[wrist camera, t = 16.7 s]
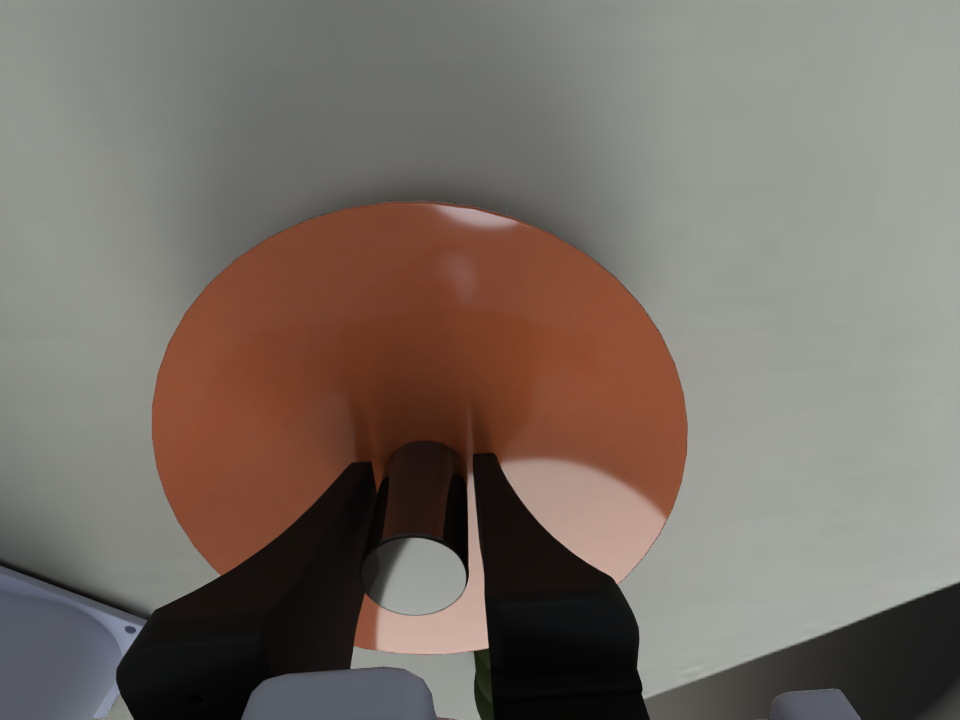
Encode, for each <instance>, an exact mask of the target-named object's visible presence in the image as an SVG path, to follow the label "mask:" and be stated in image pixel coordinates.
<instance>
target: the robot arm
mask: <svg viewBox="0 0 960 720" xmlns="http://www.w3.org/2000/svg"><path fill="white" fill-rule="evenodd" d="M473 476H474V488H475V500H476V512H477V524H478V535H479V543H480V550H481V557H482V563H483V570H484V597H485V609H486V621H487V633H488V645H489V657H490V669H491V688H492V703H493V713H494V720H650V719H649V716H648V713H647V710H646V706H645V703H644V700H643V697H642V694H641V693H642V689H643V688H642V683H641V680H640V677H639V674H638V671H637V661H638V649H639V629H638V625H637V622H636V619H635V617H634V614H633V612H632V610H631V608H630V606H629V604H628V602H627V600H626V599H625V597H624V595H623V593H622V592H621V590H620V588H619V587H618V585H617V583H616V582H615V580H614V579H613V578H612V577H611V576H609V575H607V574H606V573H604V572H602V571H600V570H599V569H597V568H595V567H594V566H592V565H590V564H588V563H587V562H585V561H584V560H582V559H581V558H579V557H578V556H576V555H575V554H574V553H572V552H571V551H570V550H569V549H568V548H566V547H565V546H564V545H563V544H561V543H560V542H559V541H558V540H557V539H556V538H554V537H553V536H552V535H551V534H550V533H549V532H548V531H547V530H546V529H545V528H544V527H543V526H542V525H541V524H540V523H539V522H538V520H537V519H536V518H535V517H534V516H533V515H532V514H531V512H530V511H529V510H528V509H527V507H526V506H525V505H524V503H523V502H522V501H521V499H520V498H519V497H518V495H517V494H516V492H515V491H514V489H513V488H512V486H511V484H510V483H509V481H508V480H507V478H506V476H505V474H504V472H503V470H502V468H501V466H500V464H499V461H498V458H497V455H496V454H494V453H493V452H492V453H478V454H473ZM376 498H377V489H376V484H375V478H374V473H373V467H372V462H371V461H367V462H353V463H351V464H350V465H349V466H348V467H347V468H346V469H345V470H344V471H343V472H342V473H341V474H340V475H339V477H338V478H337V479H336V480H335V481H334V482H333V483H332V484H331V485H330V487H329V488H328V489H327V490H326V491H325V492H324V493H323V494H322V495H321V496H320V497H319V498H318V499H317V501H316V502H315V503H314V504H313V505H312V506H311V507H310V508H309V509H308V510H307V511H305V512H304V513H303V514H302V515H301V516H300V517H299V518H298V519H297V520H296V521H295V522H294V523H293V524H292V525H291V526H290V527H288V528H287V529H286V530H285V531H284V532H283V533H281V534H280V535H279V536H278V537H277V538H275V539H274V540H273V541H271V542H270V543H269V544H268V545H266V546H265V547H264V548H262V549H261V550H260V551H258V552H257V553H255V554H254V555H252V556H251V557H249V558H248V559H247V560H245V561H244V562H242V563H241V564H239V565H238V566H236V567H235V568H233V569H232V570H230V571H228V572H227V573H225V574H224V575H222V576H220V577H219V578H217V579H215V580H213V581H212V582H210V583H208V584H206V585H204V586H203V587H201V588H199V589H197V590H195V591H193V592H191V593H189V594H187V595H185V596H183V597H181V598H179V599H177V600H175V601H173V602H171V603H169V604H167V605H165V606H163V607H161V608H158V609H156V610H155V611H154V612H153V614H152V615H151V616H150V618H149V619H148V620H145V619H143V618H140V617H137V616H135V615H132V614H129V613H126V612H124V611H121V610H118V609H116V608H113V607H110V606H108V605H105V604H102V603H100V602H97V601H94V600H92V599H89V598H86V597H84V596H81V595H78V594H75V593H73V592H70V591H67V590H65V589H62V588H59V587H57V586H54V585H51V584H49V583H46V582H43V581H41V580H38V579H35V578H33V577H30V576H27V575H24V574H22V573H19V572H16V571H14V570H11V569H8V568H6V567H3V566H0V720H91V719H92V717H93V718H103V717H105V716H106V715H107V714H108V712H109V710H110V709H111V707H112V705H113V704H114V702H115V700H116V698H117V697H118V695H119V693H120V694H121V696H122V698H123V700H124V701H125V703H126V705H127V707H128V709H129V711H130V713H131V715H132V716H133V718H134V720H455V719H448V718H442V717H437V716H436V713H435V711H434V705H433V699H432V694H431V692H430V690H429V688H428V687H427V685H426V683H425V682H424V680H423V679H422V678H420V677H419V676H417V675H415V674H413V673H411V672H409V671H407V670H405V669H401V668H391V667H373V668H360V669H350V666H351V659H352V653H353V646H354V640H355V634H356V628H357V623H358V619H359V614H360V610H361V607H362V603H363V599H364V595H365V591H364V589H363V587H362V585H361V582H360V577H359V567H360V563H361V559H362V554H363V550H364V546H365V542H366V538H367V534H368V530H369V526H370V522H371V518H372V514H373V510H374V506H375V502H376ZM761 720H861V719H860V717H859V716H858V715H857V713H856V712H855V710H854V709H853V707H852V706H851V704H850V703H849V702H848V700H847V699H846V697H845V696H844V694H843V693H842V692H841V691H840V690H838V689H823V690H809V691H796V692H788V693H783V694H781V695H780V696H778V697H776V698H775V699H774V701H773V703H772V705H771V708H770V713H769V719H761Z"/></svg>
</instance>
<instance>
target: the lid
mask: <svg viewBox="0 0 960 720" xmlns="http://www.w3.org/2000/svg"><path fill="white" fill-rule="evenodd" d="M152 440H153V447H154V453H155V460H156V466H157V470H158V473H159V476H160V479H161V482H162V486H163V489H164V492H165V495H166V497H167V499H168V501H169V504H170V506H171V508H172V510H173V512H174V514H175V516H176V518H177V520H178V522H179V524H180V525H181V527H182V528H183V530H184V531H185V533H186V534H187V536H188V537H189V539H190V540H191V542H192V543H193V545H194V547H195V548H196V549H197V550H198V551H199V552H200V554H201V555H202V556H203V557H204V558H205V559H206V561H207V562H208V563H209V564H210V565H211V566H212V568H213V569H214V570H215V571H216V572H218V573H219V574H220V575H221V576H222V575H224V574H225V573H227V572H228V571H230V570H232V569H233V568H235V567H236V566H238V565H239V564H241V563H242V562H244V561H245V560H247V559H248V558H249V557H251V556H252V555H254V554H255V553H257V552H258V551H260V550H261V549H262V548H264V547H265V546H266V545H268V544H269V543H270V542H271V541H273V540H274V539H275V538H277V537H278V536H279V535H280V534H281V533H283V532H284V531H285V530H286V529H287V528H288V527H290V526H291V525H292V524H293V523H294V522H295V521H296V520H297V519H298V518H299V517H300V516H301V515H302V514H303V513H304V512H305V511H307V510H308V509H309V508H310V507H311V506H312V505H313V504H314V503H315V502H316V501H317V499H318V498H319V497H320V496H321V495H322V494H323V493H324V492H325V491H326V490H327V489H328V488H329V487H330V485H331V484H332V483H333V482H334V481H335V480H336V479H337V478H338V477H339V475H340V474H341V473H342V472H343V471H344V470H345V469H346V468H347V467H348V466H349V465H350V464H351V463H353V462H367V461H371V462H372V467H373V473H374V478H375V484H376V489H377V498H376V502H375V506H374V510H373V514H372V518H371V522H370V526H369V530H368V534H367V538H366V542H365V546H364V550H363V554H362V559H361V563H360V567H359V577H360V582H361V585H362V587H363V589H364V591H365V595H364V599H363V603H362V607H361V610H360V614H359V619H358V623H357V628H356V634H355V640H354V646H356V647H360V648H364V649H370V650H376V651H383V652H390V653H401V654H419V655H429V654H453V653H461V652H469V651H477V650H483V649H487V648H489V645H488V633H487V621H486V609H485V597H484V570H483V563H482V557H481V550H480V543H479V535H478V524H477V512H476V500H475V488H474V476H473V454H478V453H492V452H493V453H494V454H496V455H497V458H498V461H499V464H500V466H501V468H502V470H503V472H504V474H505V476H506V478H507V480H508V481H509V483H510V484H511V486H512V488H513V489H514V491H515V492H516V494H517V495H518V497H519V498H520V499H521V501H522V502H523V503H524V505H525V506H526V507H527V509H528V510H529V511H530V512H531V514H532V515H533V516H534V517H535V518H536V519H537V520H538V522H539V523H540V524H541V525H542V526H543V527H544V528H545V529H546V530H547V531H548V532H549V533H550V534H551V535H552V536H553V537H554V538H556V539H557V540H558V541H559V542H560V543H561V544H563V545H564V546H565V547H566V548H568V549H569V550H570V551H571V552H572V553H574V554H575V555H576V556H578V557H579V558H581V559H582V560H584V561H585V562H587V563H588V564H590V565H592V566H594V567H595V568H597V569H599V570H600V571H602V572H604V573H606V574H607V575H609V576H611V577H612V578H613V579H614V580H615V582H616V583H617V585H618V584H619V583H620V582H621V581H622V580H623V579H625V578H626V577H627V576H628V574H629V573H630V572H631V571H632V570H633V569H634V568H635V567H636V565H637V564H638V563H639V562H640V561H641V560H642V559H643V557H644V556H645V555H646V553H647V552H648V550H649V549H650V548H651V546H652V545H653V543H654V542H655V540H656V539H657V537H658V536H659V534H660V533H661V531H662V529H663V527H664V525H665V523H666V521H667V519H668V517H669V515H670V513H671V511H672V509H673V506H674V503H675V500H676V497H677V494H678V491H679V488H680V485H681V482H682V477H683V471H684V466H685V461H686V455H687V416H686V408H685V400H684V393H683V390H682V386H681V383H680V380H679V376H678V373H677V369H676V366H675V363H674V361H673V359H672V356H671V354H670V352H669V350H668V348H667V346H666V344H665V342H664V340H663V337H662V335H661V333H660V332H659V330H658V329H657V327H656V326H655V324H654V323H653V321H652V320H651V318H650V317H649V316H648V314H647V313H646V311H645V310H644V308H643V307H642V305H641V304H640V303H639V302H638V301H637V300H636V299H635V298H634V296H633V295H632V294H631V293H630V292H629V291H628V290H627V289H626V288H625V287H624V286H623V285H622V283H621V282H620V281H619V280H618V279H617V278H616V277H615V276H614V275H612V274H611V273H610V272H609V271H607V270H606V269H605V268H604V267H602V266H601V265H600V264H599V263H598V262H596V261H595V260H594V259H593V258H591V257H590V256H589V255H588V254H586V253H585V252H584V251H582V250H581V249H579V248H577V247H576V246H574V245H572V244H571V243H569V242H567V241H565V240H564V239H562V238H560V237H559V236H557V235H555V234H554V233H552V232H550V231H548V230H546V229H543V228H541V227H538V226H536V225H534V224H531V223H529V222H527V221H524V220H522V219H519V218H517V217H515V216H512V215H508V214H504V213H500V212H497V211H493V210H489V209H485V208H482V207H478V206H474V205H467V204H459V203H451V202H443V201H435V200H396V201H384V202H377V203H370V204H364V205H357V206H350V207H346V208H343V209H339V210H336V211H333V212H329V213H326V214H323V215H319V216H316V217H313V218H309V219H307V220H305V221H303V222H301V223H299V224H296V225H294V226H292V227H290V228H288V229H286V230H283V231H281V232H279V233H277V234H275V235H273V236H271V237H268V238H267V239H265V240H264V241H262V242H261V243H259V244H258V245H256V246H255V247H253V248H252V249H250V250H249V251H247V252H246V253H244V254H243V255H241V256H240V257H238V258H237V259H235V260H234V261H233V262H232V263H231V264H230V265H229V266H228V267H226V268H225V269H224V270H223V271H222V272H221V273H220V274H219V275H218V276H217V277H215V278H214V279H213V280H212V281H211V282H210V283H209V284H208V285H207V286H206V287H205V289H204V290H203V291H202V292H201V294H200V295H199V296H198V297H197V299H196V300H195V301H194V302H193V304H192V305H191V306H190V308H189V309H188V310H187V311H186V313H185V314H184V316H183V318H182V320H181V322H180V323H179V325H178V327H177V329H176V331H175V332H174V334H173V336H172V338H171V340H170V341H169V344H168V346H167V349H166V352H165V355H164V358H163V361H162V363H161V366H160V369H159V372H158V376H157V381H156V387H155V393H154V399H153V404H152Z"/></svg>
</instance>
